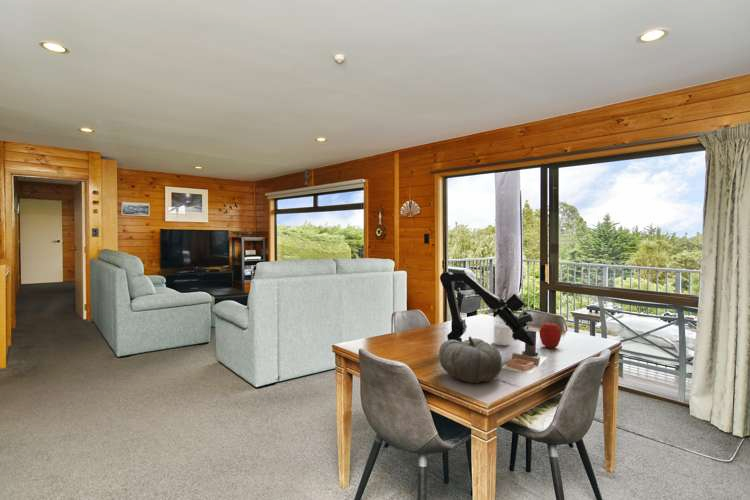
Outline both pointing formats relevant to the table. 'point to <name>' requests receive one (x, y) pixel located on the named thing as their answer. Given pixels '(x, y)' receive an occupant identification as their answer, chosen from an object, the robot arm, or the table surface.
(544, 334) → the apple
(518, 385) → the table surface
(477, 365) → the gourd
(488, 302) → the robot arm
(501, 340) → the mug
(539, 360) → the collar
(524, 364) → the collar
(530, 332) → the peg
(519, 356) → the plate
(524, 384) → the table surface
